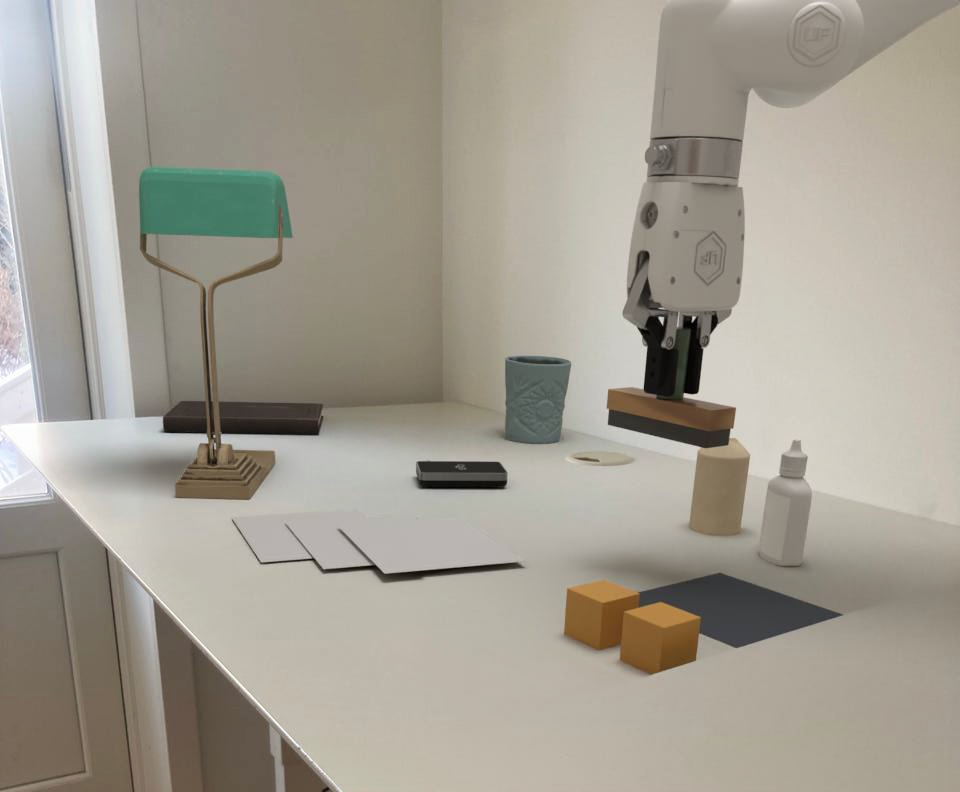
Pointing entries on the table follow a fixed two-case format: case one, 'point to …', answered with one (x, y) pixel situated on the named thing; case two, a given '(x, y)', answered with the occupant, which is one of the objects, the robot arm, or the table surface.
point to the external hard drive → (461, 474)
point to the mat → (737, 608)
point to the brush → (672, 409)
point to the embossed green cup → (535, 398)
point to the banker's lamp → (226, 213)
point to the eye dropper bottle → (786, 511)
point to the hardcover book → (246, 417)
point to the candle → (719, 489)
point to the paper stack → (372, 541)
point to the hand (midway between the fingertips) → (671, 391)
